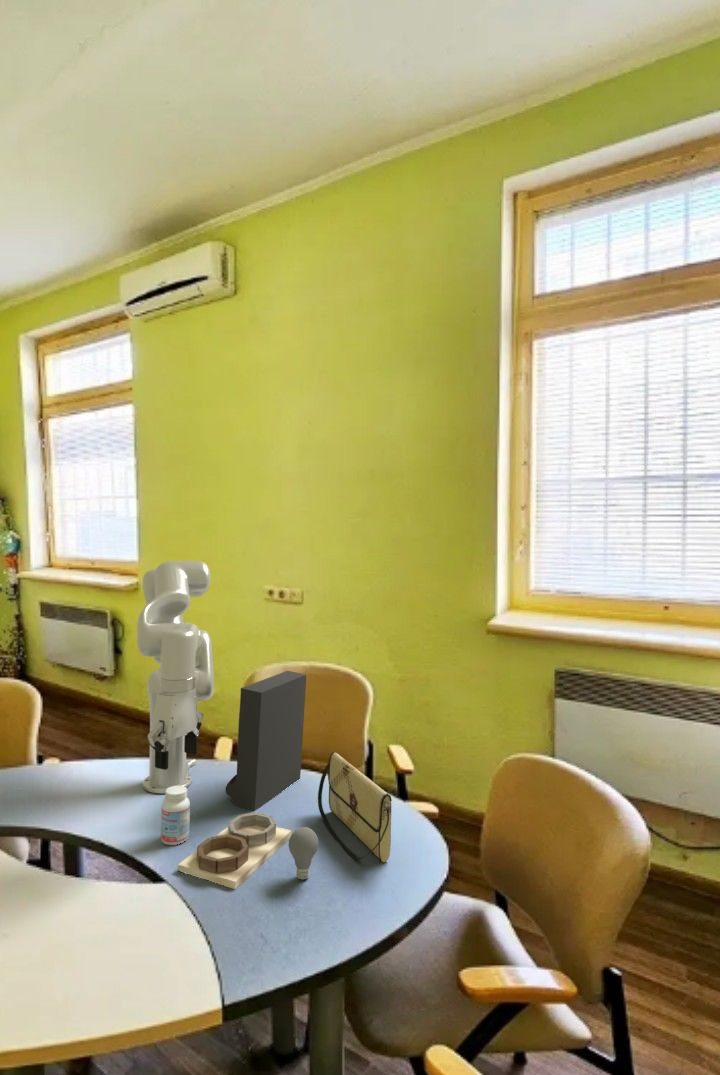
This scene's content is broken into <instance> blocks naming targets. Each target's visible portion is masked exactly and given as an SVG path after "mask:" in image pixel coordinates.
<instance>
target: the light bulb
mask: <svg viewBox="0 0 720 1075" xmlns="http://www.w3.org/2000/svg"><path fill="white" fill-rule="evenodd" d="M318 848H319V838H318V836H317V834H316V832H315V831H314V830H313V829H312V828H310V827H307V826H301V827H298V828H297V829H295V830H294V831H293V832H291V836H290V839H289V840H288V849H289V850H288V851H289V852H290V854H291V856H292V857H293V859H294V864H295V866H296V879H298V880H299V879H300V880H306V879H308V878H309V877H310V867H311V865H312V860H313V858H314V856H315V854H316V853H317V851H318Z"/></svg>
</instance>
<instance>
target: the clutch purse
mask: <svg viewBox="0 0 720 1075" xmlns="http://www.w3.org/2000/svg"><path fill="white" fill-rule="evenodd" d="M329 755H330V756H329V759H328V763H327V764H326V766H325V767H324V769H323V771H322V775H321V778H320V781H319V786H318V792H317V806H318V810H319V813H320V816H321V818H322V821H323V823H324V825H325V826H326V828H327V830H328V832H329V833H330V834H331V836H332V837H333V839H334V841H335V842H336V843H338V845H339V846H340V848H342V849H343V851H344V852H345V853H346V854H348V856H350V857H351V858H353V859H354V860H356V861H357V860H359V861H360V860H361V859H364V858H366V856H368V855H369V854H370V853H373V854H374V855H375V856H377V858H378V859H379V861H380V862H381V863H386V862H387V861H388V860H389V858H390V853H391V843H392V842H391V841H392V836H391V834H392V831H391V830H392V796H391V795H390V794H389V793H388V792H386V791H385V790H384V789H383V788H381V786H379V785H378V784H376V783H375V782H374V781H373V780H372V779H370V778H369V777H368V776H366V775H365V774H364V773H363V772H361V771H359V769H357V768H356V767H355V766H354V765H352V764H351V763H350V762H349V761H347V760H346V759H345V758H344V757H342V756H341V755H340V754H339V753H338V752H336V751H333V752H331V754H329ZM326 777H327V780H328V805H329V810H330V812H332V813H333V814H335V816H337V818H339V820H341V821H342V822H343V824H345V826H347V827H348V828H349V830H351V831H352V833H354V835H356V836H357V837H358V839H359V840H360V841H361V842H363V843H364V845H366V846H367V848H368V849H369V850H370V851H369V852H368V853H366V854H365V855H363V856H362V857H361V856H360V857H359V856H357V855H356V854H355V853H354V852H352V851H351V850H350V849H349V848H348V847H347V845H345V843H343V841H342V840H341V839H340V837H339V836H338V834H337V833H336V832H335V830H334V829H333V828H332V826H331V824H330V822H329V820H328V818H327V816H326V813H325V812H324V811H325V810H324V808H323V801H322V800H323V798H322V797H323V788H324V784H325V779H326Z"/></svg>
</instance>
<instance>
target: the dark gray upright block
mask: <svg viewBox="0 0 720 1075" xmlns="http://www.w3.org/2000/svg"><path fill="white" fill-rule="evenodd" d="M306 686H307V673H301V672H295V671H291V670H285V671H283V672H279V673H277V674H275V675H272V676H269V677H267V678H264V679H261V680H258V681H256V682H253V683H251V684H248V685H245V686H241V687H240V697H239V698H240V699H239V713H238V715H239V716H238V717H239V718H238V730H237V732H238V734H237V753H236V754H237V756H236V757H237V759H236V774H235V775H234V776H232V778H231V779H230V780H229V781H228V783H227V784H226V785H225V788H224V789H225V790H224V791H225V793H226V795H227V796H228V797H229V798H230V799H231V801H232V804H233V805H236V806H238V807H241V808H245V809H248V810H251V811H253V812H254V811H257V810H258V809H260V808H261V807H263V806H264V805H265V804H267V803H269V802H270V801H272V800H273V799H274V798H275V796H276V795H277V796H279V795H280V794H281V793H283V792H284V791H286V790H287V789H288V788H287V787H289V786H290V785H291V784H293V783H294V782H296V781H297V780H299V779H300V780H301V772H302V771H301V770H302V755H303V754H302V753H303V740H304V739H303V736H304V724H305V723H304V720H305V719H304V718H305V708H306V707H305V704H306V689H307V688H306ZM300 780H299V781H300ZM297 782H298V781H297ZM297 782H296V783H297ZM294 784H295V783H294ZM294 784H293V785H294ZM290 787H291V786H290ZM290 787H289V788H290ZM286 788H287V789H286ZM285 789H286V790H285ZM283 790H284V791H283ZM282 791H283V792H282ZM279 793H280V794H279ZM278 794H279V795H278ZM277 796H276V797H277ZM272 798H273V799H272Z"/></svg>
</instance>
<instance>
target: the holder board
mask: <svg viewBox="0 0 720 1075" xmlns="http://www.w3.org/2000/svg"><path fill="white" fill-rule="evenodd" d="M227 825H228V826H227V827H225V828H224V829H223V830H221V831H219V833H217V835H215V836H210V837H208V838H206V839H205V840H204V841H202V842H201V843H200V844H198V845H197V847H196V850H195V851H193V852H192V853H191V854H190V855H188V856H187V857H186V858H184V859H182V861H181V862H179V863H178V864H177V871H178V870H179V871H183V872H186V873H189V874H192V875H195V876H198V877H201V878H204V879H207V880H210V881H212V882H211V883H213V882H215V883H214V884H216V883H219V884H218V885H220V884H221V885H220V886H223V885H224V886H223V887H228V888H230V889H233V890H237V888H239V887H240V886H241V884H243V883H244V882H245V881H246V880H247V879H248V878H249V877H250V876H252V875H253V874H254V873H255V872H256V871H257V870H258V869H259V868H260V867H261V866H262V865H264V863H265V862H267V860H268V859H270V858H271V857H272V856H273V855H274V854H275V853H276V852H277V851H278V850H279V849H280V848H281V847H283V845H284V844H286V842H289V839H290V836H291V835H292V830H291V829H287V828H282V827H279V826H277V823H276V822H275V819H274V818H273V816H271V815H268V814H265V813H260V812H250V813H244V814H243V813H242V814H239V815H237V816H236V817H234V818H233V819H231V820H230V821H229V822H228V824H227ZM210 881H209V882H210Z"/></svg>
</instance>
